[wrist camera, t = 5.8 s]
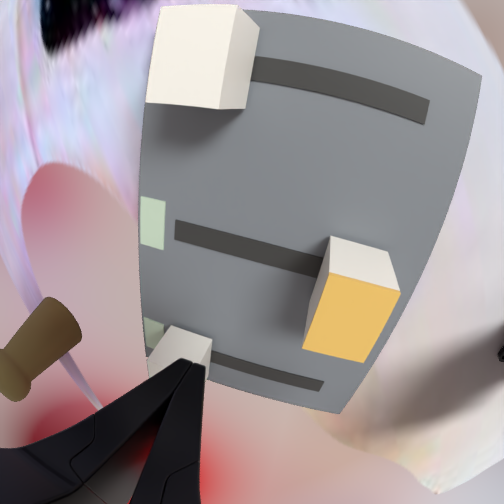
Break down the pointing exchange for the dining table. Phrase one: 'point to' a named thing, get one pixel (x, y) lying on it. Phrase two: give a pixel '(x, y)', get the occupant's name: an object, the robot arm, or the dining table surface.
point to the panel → (296, 197)
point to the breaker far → (179, 350)
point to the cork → (36, 347)
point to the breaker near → (202, 56)
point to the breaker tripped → (350, 300)
